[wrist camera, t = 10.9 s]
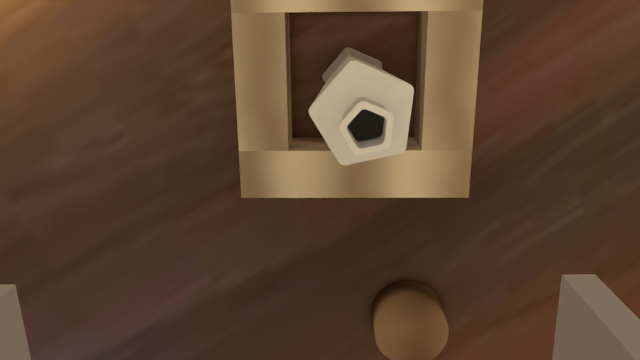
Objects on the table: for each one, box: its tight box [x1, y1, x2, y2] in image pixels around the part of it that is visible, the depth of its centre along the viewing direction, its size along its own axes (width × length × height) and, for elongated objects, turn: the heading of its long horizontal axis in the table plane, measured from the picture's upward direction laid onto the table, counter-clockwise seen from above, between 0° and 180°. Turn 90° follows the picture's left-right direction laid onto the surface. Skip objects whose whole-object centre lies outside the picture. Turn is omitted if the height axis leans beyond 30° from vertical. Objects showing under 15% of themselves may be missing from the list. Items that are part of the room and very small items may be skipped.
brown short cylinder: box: [372, 280, 449, 360], centre depth 40 cm, size 5×5×3 cm
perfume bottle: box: [309, 47, 414, 165], centre depth 29 cm, size 5×4×15 cm
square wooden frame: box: [231, 0, 483, 198], centre depth 34 cm, size 14×14×4 cm
